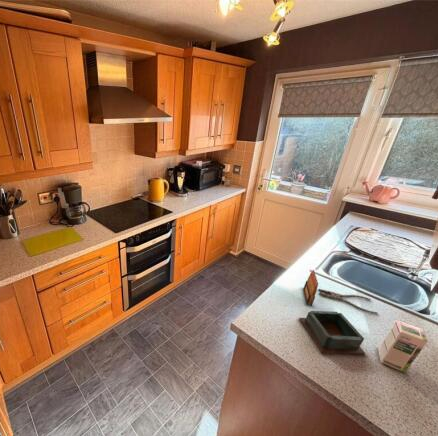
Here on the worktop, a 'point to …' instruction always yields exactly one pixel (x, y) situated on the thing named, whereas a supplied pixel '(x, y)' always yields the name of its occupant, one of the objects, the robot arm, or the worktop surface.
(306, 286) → the orange brown flat panel
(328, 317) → the holder
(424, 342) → the syrup box
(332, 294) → the pliers
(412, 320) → the worktop surface
